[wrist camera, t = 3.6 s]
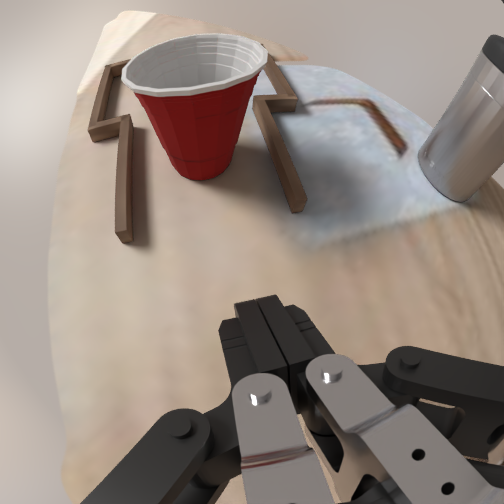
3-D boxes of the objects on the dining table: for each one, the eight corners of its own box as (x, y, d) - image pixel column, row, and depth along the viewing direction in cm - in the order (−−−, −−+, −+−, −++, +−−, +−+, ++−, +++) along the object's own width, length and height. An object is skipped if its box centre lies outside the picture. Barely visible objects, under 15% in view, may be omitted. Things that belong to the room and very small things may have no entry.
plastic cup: (200, 111, 31) (196, 20, 20) (276, 154, 29) (297, 51, 18) (126, 165, 27) (93, 67, 16) (201, 224, 25) (187, 110, 14)
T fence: (260, 54, 38) (262, 43, 36) (340, 205, 27) (348, 193, 25) (108, 75, 34) (105, 65, 32) (82, 251, 23) (72, 241, 21)
